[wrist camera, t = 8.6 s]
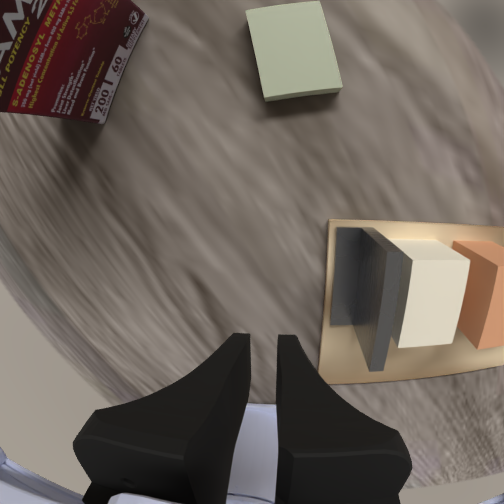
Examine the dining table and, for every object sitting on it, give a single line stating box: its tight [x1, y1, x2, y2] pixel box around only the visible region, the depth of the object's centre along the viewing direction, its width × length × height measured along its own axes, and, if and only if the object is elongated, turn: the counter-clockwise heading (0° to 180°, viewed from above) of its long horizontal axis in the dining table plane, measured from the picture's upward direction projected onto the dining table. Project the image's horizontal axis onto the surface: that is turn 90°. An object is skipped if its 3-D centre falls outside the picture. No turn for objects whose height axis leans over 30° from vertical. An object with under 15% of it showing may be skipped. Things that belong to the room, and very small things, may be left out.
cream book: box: [388, 239, 470, 348], centre depth 17 cm, size 5×4×4 cm
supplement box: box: [0, 0, 148, 124], centre depth 10 cm, size 9×5×16 cm, turn 159°
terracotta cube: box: [452, 240, 504, 350], centre depth 16 cm, size 5×4×6 cm
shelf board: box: [318, 219, 504, 384], centre depth 20 cm, size 12×18×1 cm
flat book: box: [246, 1, 343, 102], centre depth 16 cm, size 6×4×2 cm
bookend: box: [330, 226, 404, 372], centre depth 17 cm, size 6×2×6 cm, turn 1°
